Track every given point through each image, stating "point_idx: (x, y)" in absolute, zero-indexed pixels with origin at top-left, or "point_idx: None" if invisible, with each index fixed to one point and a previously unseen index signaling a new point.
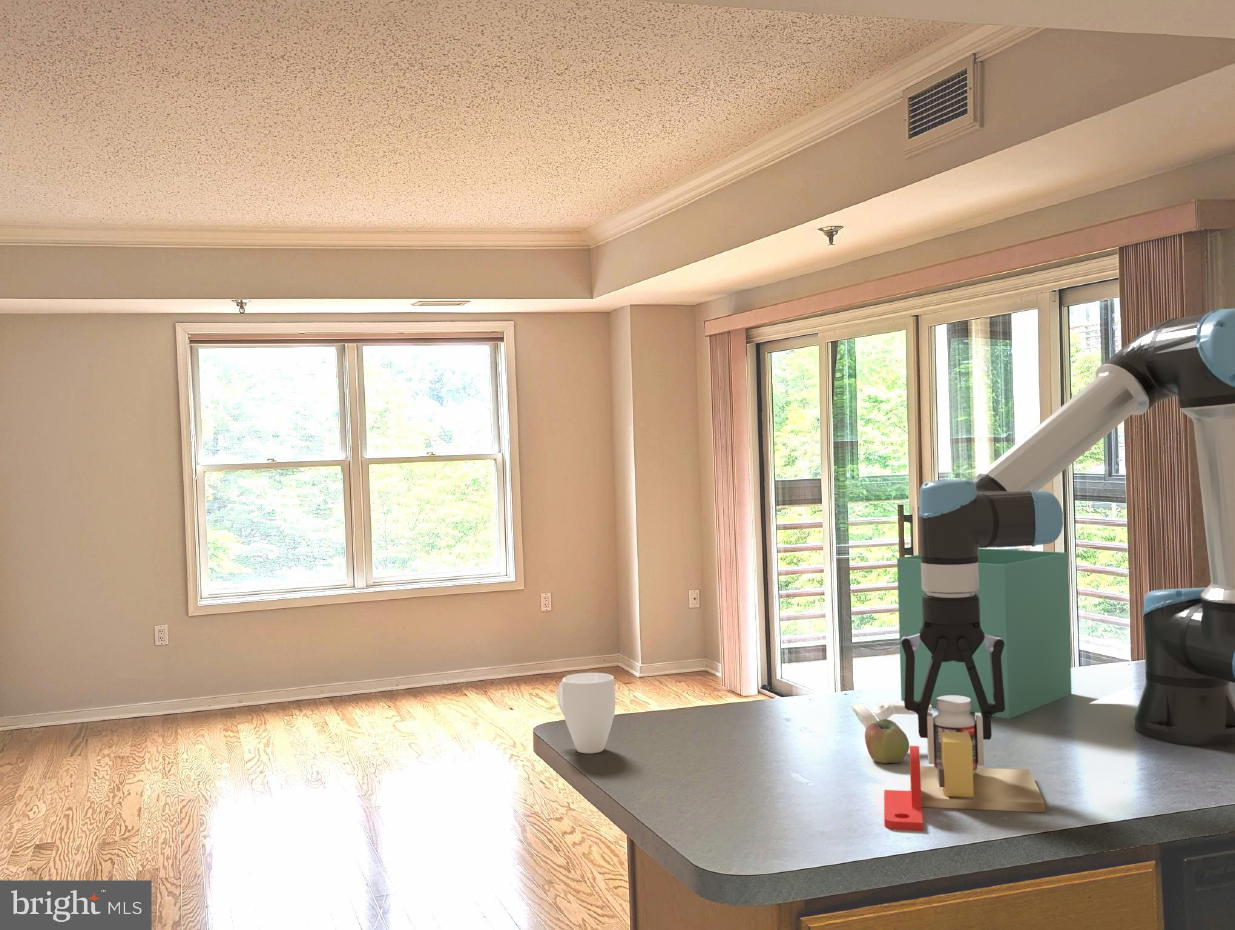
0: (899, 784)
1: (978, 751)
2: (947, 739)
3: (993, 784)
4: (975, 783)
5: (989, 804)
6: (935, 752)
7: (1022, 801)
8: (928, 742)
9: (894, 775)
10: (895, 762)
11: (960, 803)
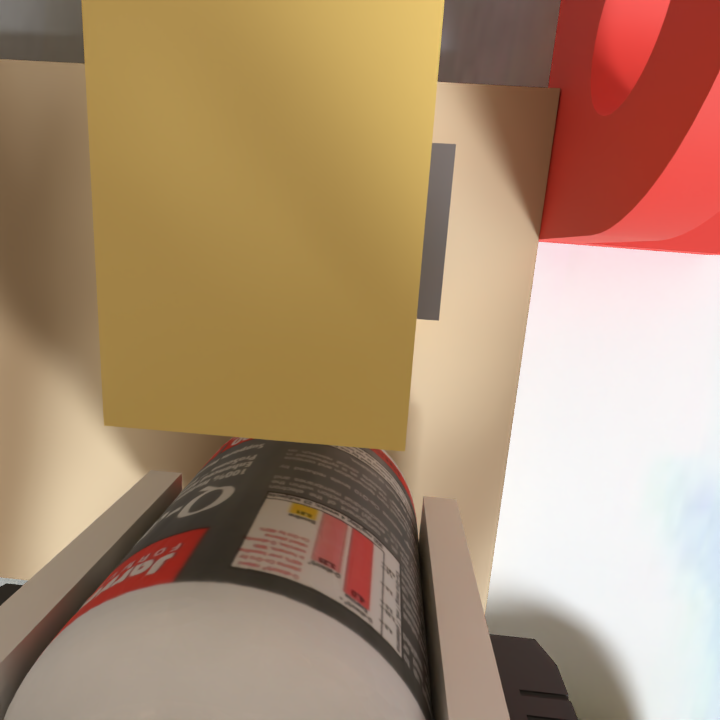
0: (584, 460)
1: (137, 515)
2: (378, 80)
3: None
4: None
5: None
6: (415, 549)
7: (23, 66)
8: (473, 583)
9: (582, 587)
10: None
11: None
